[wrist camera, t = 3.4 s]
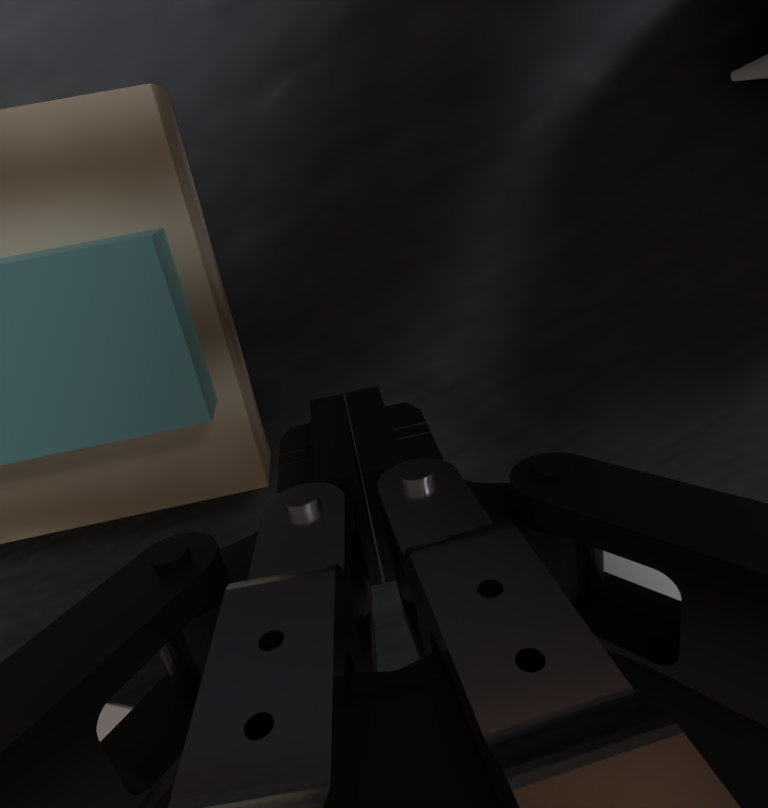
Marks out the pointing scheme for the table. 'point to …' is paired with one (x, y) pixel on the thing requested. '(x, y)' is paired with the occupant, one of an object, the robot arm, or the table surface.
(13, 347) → the tile
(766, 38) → the table surface
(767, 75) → the alarm clock
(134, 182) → the tan wooden board
